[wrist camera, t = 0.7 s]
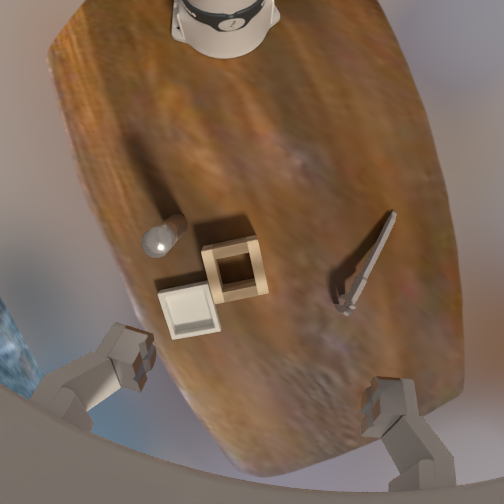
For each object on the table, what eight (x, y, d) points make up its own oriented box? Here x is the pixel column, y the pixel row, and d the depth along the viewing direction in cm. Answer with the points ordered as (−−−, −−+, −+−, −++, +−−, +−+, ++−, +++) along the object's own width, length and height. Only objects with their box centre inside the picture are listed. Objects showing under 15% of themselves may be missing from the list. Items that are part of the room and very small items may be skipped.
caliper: (337, 306, 59) (348, 321, 52) (333, 304, 58) (343, 318, 52) (395, 212, 55) (412, 217, 49) (391, 209, 55) (408, 214, 49)
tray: (160, 290, 56) (157, 293, 54) (208, 280, 56) (208, 283, 54) (174, 334, 58) (172, 339, 56) (221, 326, 58) (220, 331, 56)
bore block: (203, 246, 54) (200, 251, 51) (256, 234, 54) (257, 239, 50) (215, 295, 57) (214, 304, 53) (266, 285, 57) (268, 293, 53)
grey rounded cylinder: (164, 216, 53) (138, 232, 38) (184, 211, 53) (165, 226, 38) (169, 237, 54) (146, 260, 39) (189, 232, 54) (173, 254, 39)
